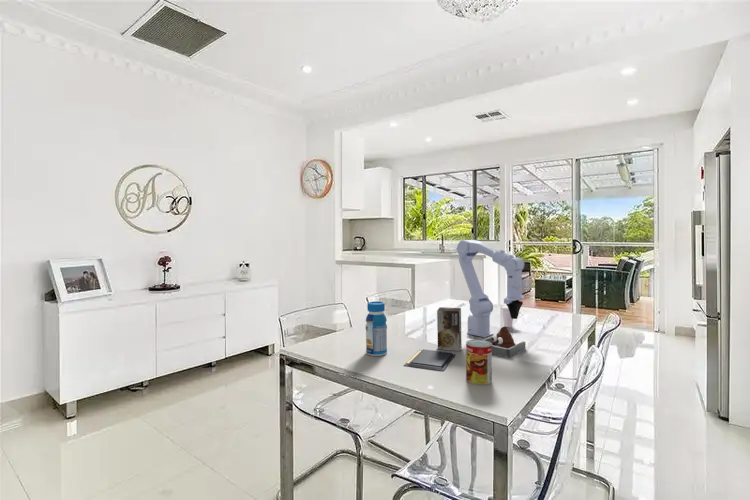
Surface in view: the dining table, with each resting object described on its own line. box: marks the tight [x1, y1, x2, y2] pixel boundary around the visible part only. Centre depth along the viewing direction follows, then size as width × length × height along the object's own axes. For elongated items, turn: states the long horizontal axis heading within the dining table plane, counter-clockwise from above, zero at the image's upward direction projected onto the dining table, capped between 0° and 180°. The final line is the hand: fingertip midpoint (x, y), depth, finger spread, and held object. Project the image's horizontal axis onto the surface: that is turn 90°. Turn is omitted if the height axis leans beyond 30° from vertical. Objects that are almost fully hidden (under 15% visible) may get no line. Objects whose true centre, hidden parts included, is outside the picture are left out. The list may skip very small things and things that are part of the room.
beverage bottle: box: [365, 300, 388, 357], centre depth 150 cm, size 8×8×20 cm
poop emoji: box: [492, 325, 517, 349], centre depth 154 cm, size 10×8×9 cm
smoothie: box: [500, 305, 514, 328], centre depth 189 cm, size 6×6×14 cm
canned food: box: [465, 339, 493, 386], centre depth 121 cm, size 8×8×12 cm
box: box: [482, 335, 526, 359], centre depth 153 cm, size 14×14×3 cm
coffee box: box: [436, 306, 463, 352], centre depth 155 cm, size 9×6×16 cm
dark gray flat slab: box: [403, 349, 456, 372], centre depth 141 cm, size 20×2×15 cm
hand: (514, 318), depth 161 cm, fingers closed
